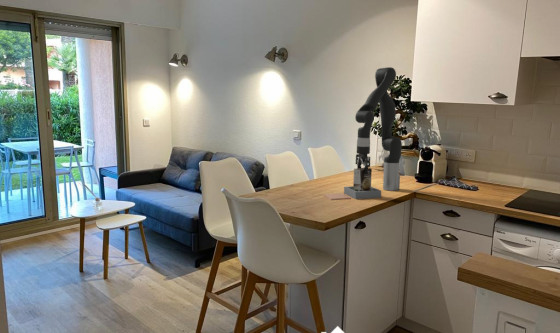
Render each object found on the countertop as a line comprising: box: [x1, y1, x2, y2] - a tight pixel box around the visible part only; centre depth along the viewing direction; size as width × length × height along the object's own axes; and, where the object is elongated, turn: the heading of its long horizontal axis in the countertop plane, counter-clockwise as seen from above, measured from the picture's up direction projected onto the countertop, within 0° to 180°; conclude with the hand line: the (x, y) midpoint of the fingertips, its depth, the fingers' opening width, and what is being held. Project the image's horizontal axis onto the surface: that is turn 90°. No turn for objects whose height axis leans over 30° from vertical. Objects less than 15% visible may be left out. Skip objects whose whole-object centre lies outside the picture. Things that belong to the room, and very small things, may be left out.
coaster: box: [322, 192, 352, 201], centre depth 241 cm, size 12×12×1 cm
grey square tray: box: [343, 186, 382, 200], centre depth 245 cm, size 16×16×4 cm
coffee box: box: [352, 167, 373, 191], centre depth 244 cm, size 9×6×16 cm
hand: (362, 173), depth 243 cm, fingers open, 8 cm apart
